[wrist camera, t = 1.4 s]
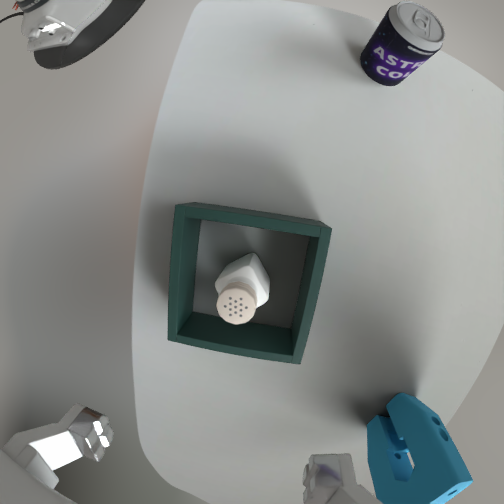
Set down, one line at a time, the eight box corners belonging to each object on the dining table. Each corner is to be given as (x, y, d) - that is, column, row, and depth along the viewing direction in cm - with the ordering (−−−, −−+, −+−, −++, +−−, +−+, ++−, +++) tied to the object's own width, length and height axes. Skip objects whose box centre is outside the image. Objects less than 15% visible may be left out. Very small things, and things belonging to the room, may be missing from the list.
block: (378, 437, 35) (403, 527, 16) (357, 433, 35) (380, 531, 16) (425, 390, 32) (475, 479, 13) (406, 383, 32) (457, 482, 13)
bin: (184, 316, 33) (167, 340, 27) (194, 202, 30) (175, 204, 24) (297, 336, 32) (300, 364, 26) (321, 221, 29) (332, 228, 23)
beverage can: (351, 71, 25) (384, 19, 13) (366, 42, 23) (399, -11, 12) (393, 97, 25) (443, 58, 13) (406, 66, 24) (452, 24, 12)
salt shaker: (272, 280, 31) (269, 317, 21) (241, 295, 31) (226, 336, 22) (255, 249, 30) (245, 274, 21) (223, 265, 31) (202, 296, 22)
